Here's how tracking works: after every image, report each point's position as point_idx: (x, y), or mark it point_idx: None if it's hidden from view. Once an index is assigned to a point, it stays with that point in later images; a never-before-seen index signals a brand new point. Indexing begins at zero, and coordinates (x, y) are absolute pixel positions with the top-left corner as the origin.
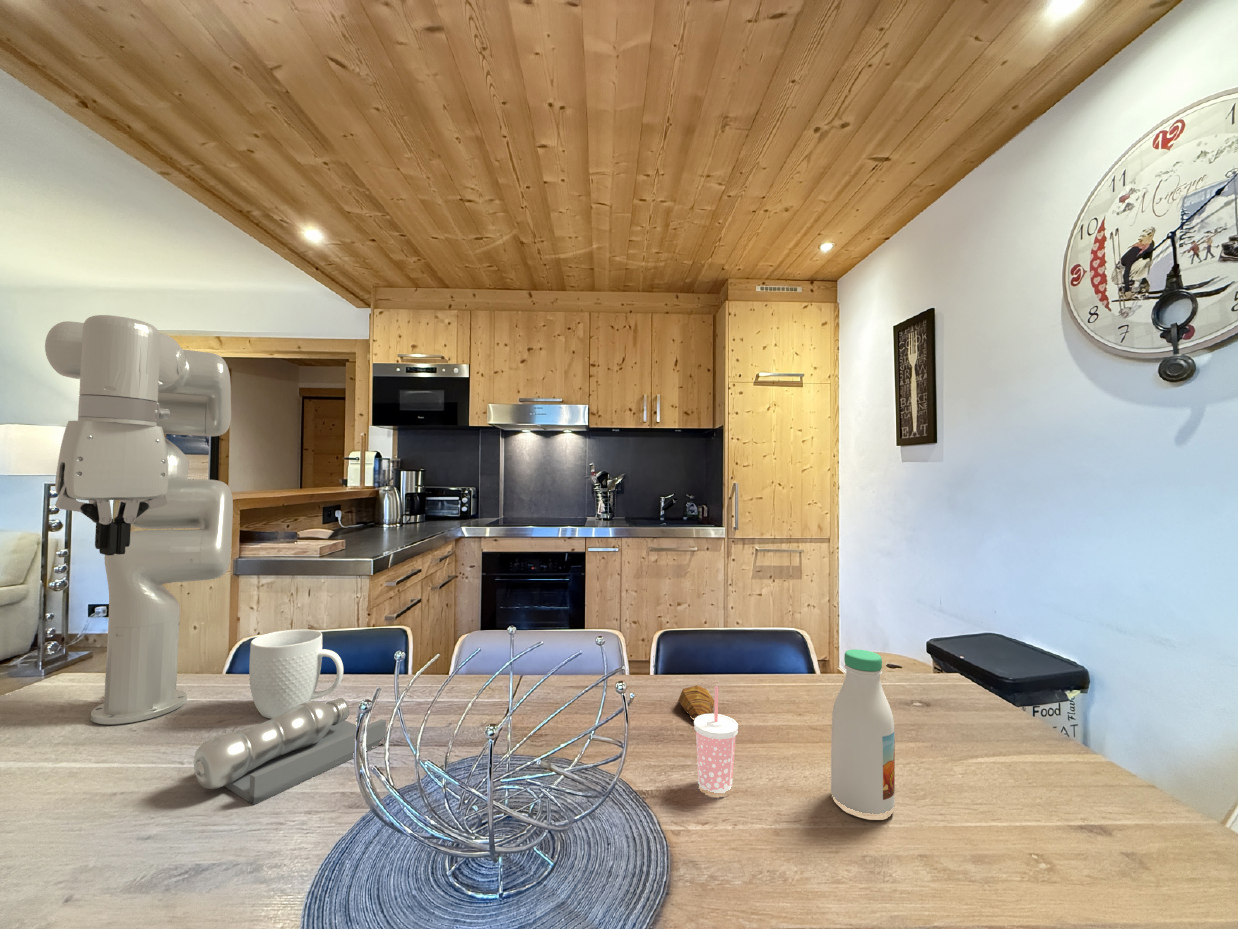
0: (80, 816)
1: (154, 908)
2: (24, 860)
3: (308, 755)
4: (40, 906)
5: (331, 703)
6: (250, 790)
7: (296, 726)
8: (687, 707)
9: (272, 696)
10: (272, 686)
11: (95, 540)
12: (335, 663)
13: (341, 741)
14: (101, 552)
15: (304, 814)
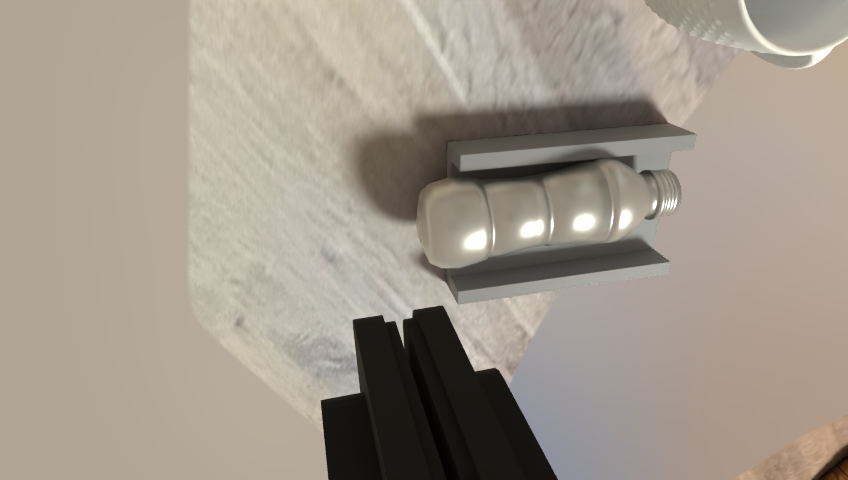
0: (277, 116)
1: (300, 395)
2: (204, 193)
3: (536, 291)
4: (214, 314)
5: (658, 203)
6: (451, 282)
7: (568, 243)
8: (843, 477)
9: (656, 6)
10: (670, 11)
11: (324, 435)
12: (799, 63)
13: (588, 284)
14: (356, 348)
15: (470, 345)
